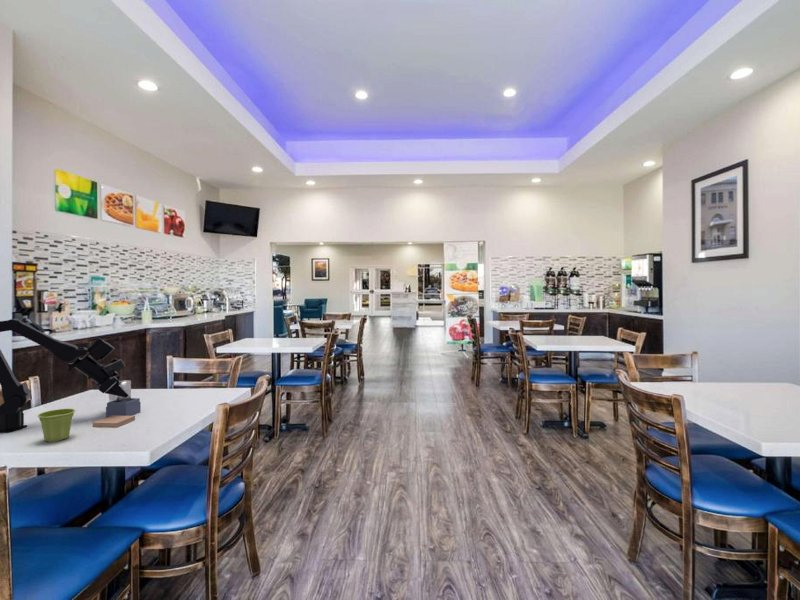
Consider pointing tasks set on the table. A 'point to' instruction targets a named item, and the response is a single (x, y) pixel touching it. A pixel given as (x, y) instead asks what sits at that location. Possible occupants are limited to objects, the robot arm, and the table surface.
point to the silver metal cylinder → (127, 388)
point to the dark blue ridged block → (123, 408)
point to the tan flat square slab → (113, 421)
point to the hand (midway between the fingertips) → (127, 394)
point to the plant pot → (56, 424)
